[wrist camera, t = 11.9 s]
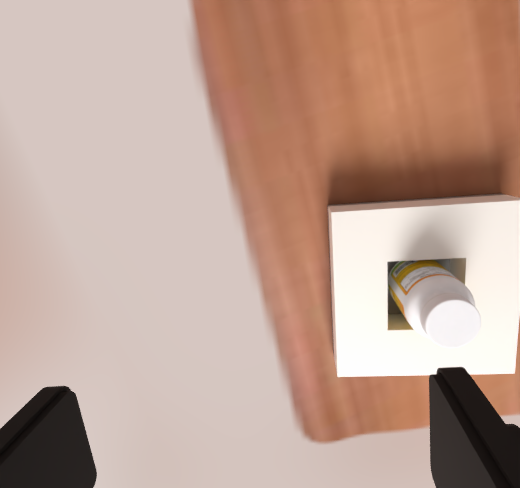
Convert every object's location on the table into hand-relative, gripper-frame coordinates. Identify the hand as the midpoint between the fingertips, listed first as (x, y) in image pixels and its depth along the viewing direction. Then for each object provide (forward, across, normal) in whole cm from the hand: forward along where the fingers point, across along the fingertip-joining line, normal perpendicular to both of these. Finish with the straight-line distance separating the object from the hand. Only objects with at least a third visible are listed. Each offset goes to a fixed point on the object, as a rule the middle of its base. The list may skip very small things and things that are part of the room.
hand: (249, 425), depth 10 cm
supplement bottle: (+29, -12, +8) cm, 32 cm away
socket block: (+30, -12, +8) cm, 33 cm away
